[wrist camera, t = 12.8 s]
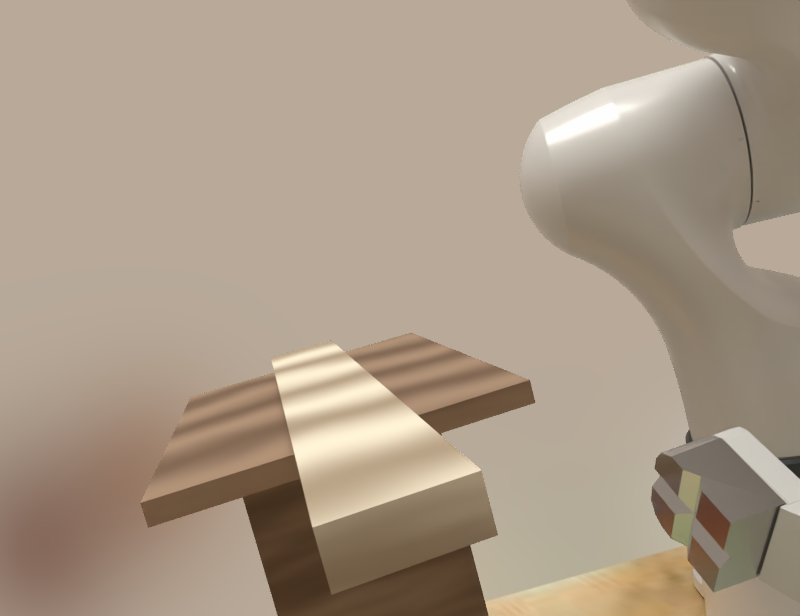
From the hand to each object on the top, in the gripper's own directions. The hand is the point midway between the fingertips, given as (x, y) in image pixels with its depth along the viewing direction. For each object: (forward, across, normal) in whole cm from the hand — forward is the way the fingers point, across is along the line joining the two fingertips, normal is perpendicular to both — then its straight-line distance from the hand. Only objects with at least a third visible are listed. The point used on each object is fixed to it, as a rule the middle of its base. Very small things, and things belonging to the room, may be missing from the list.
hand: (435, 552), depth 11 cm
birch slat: (+16, 0, +11) cm, 19 cm away
